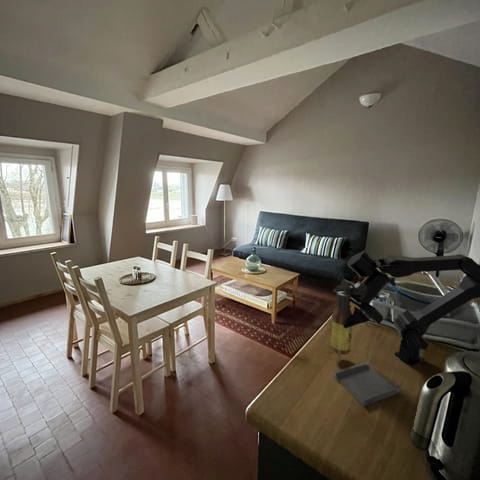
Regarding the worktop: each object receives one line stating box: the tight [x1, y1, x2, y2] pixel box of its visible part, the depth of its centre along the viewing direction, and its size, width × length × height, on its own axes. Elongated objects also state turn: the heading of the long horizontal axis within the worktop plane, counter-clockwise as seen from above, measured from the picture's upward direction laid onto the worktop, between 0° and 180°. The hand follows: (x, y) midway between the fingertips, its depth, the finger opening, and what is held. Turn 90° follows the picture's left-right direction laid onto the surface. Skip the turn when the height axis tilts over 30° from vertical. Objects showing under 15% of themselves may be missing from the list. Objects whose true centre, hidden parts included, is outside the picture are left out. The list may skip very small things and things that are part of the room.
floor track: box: [333, 361, 402, 407], centre depth 76 cm, size 13×12×2 cm
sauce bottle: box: [330, 291, 353, 356], centre depth 85 cm, size 6×6×20 cm
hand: (338, 322), depth 85 cm, fingers closed on sauce bottle, 6 cm apart
